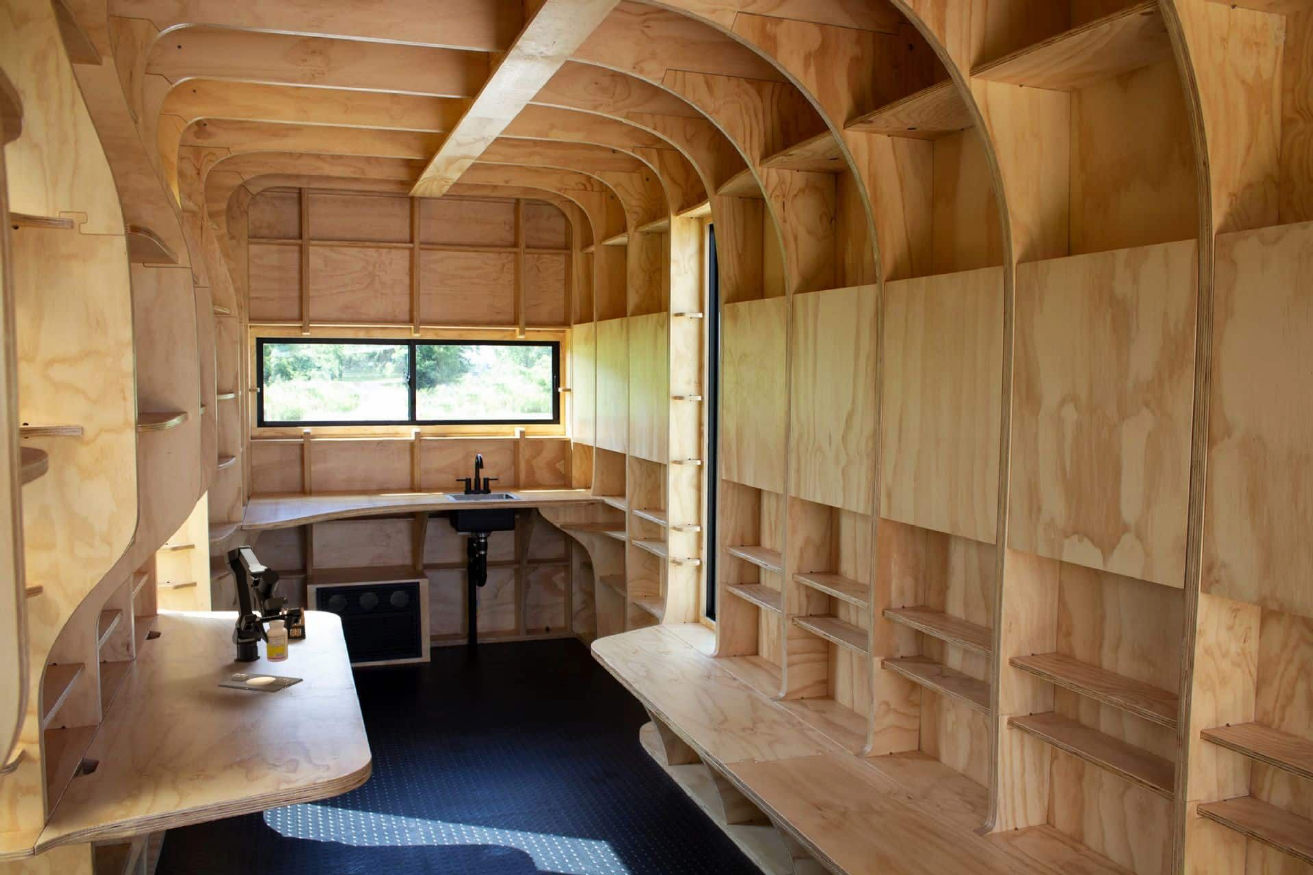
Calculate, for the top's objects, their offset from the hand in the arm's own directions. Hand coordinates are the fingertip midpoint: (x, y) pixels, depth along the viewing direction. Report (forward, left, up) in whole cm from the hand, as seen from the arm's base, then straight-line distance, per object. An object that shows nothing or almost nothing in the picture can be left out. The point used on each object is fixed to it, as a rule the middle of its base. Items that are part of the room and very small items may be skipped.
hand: (278, 640), depth 362 cm
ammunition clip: (-34, +49, -14) cm, 61 cm away
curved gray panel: (-4, -4, -13) cm, 15 cm away
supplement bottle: (-1, +1, -7) cm, 7 cm away
